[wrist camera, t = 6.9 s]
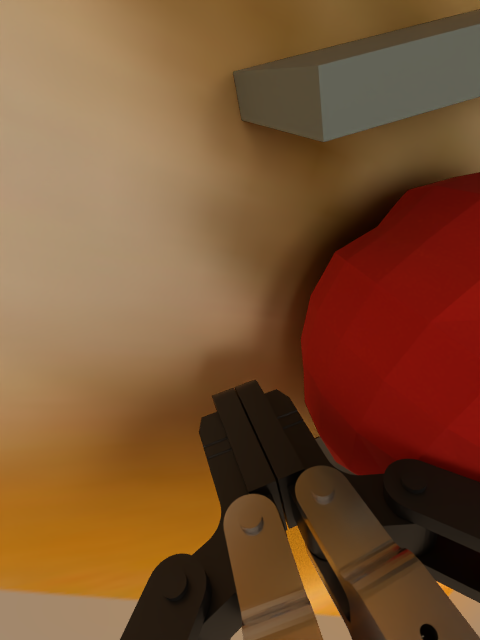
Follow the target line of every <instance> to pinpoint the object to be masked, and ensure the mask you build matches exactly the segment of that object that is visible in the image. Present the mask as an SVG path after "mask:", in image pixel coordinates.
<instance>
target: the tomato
mask: <svg viewBox="0 0 480 640" xmlns="http://www.w3.org/2000/svg"><path fill="white" fill-rule="evenodd" d="M301 347H302V359H303V371H304V396H305V404H306V406H307V408H308V410H309V413H310V415H311V417H312V420H313V422H314V424H315V426H316V429H317V431H318V433H319V435H320V437H321V438H322V440H323V442H324V443H325V445H326V447H327V448H328V450H329V451H330V453H331V455H332V456H333V458H334V460H335V461H336V462H337V463H338V464H340V465H342V466H343V467H345V468H346V469H348V470H349V471H351V472H353V473H354V474H356V475H370V474H383V473H385V470H386V468H387V467H388V466H389V465H390V464H391V463H393V462H395V461H397V460H400V459H416V460H420V461H423V462H425V463H428V464H431V465H434V466H436V467H439V468H442V469H445V470H448V471H450V472H453V473H456V474H459V475H461V476H464V477H467V478H470V479H472V480H475V481H478V482H480V172H479V173H474V174H469V175H463V176H458V177H453V178H450V179H446V180H442V181H439V182H435V183H431V184H428V185H424V186H420V187H417V188H413V189H410V190H408V191H407V192H406V193H405V194H404V195H403V196H402V197H401V198H400V199H399V200H398V201H397V203H396V204H395V205H394V206H393V208H392V209H391V210H390V211H389V213H388V214H387V215H386V216H385V218H384V219H383V220H382V221H381V222H380V224H379V225H378V226H377V227H376V228H374V229H372V230H371V231H369V232H367V233H366V234H364V235H362V236H361V237H359V238H357V239H356V240H354V241H352V242H351V243H349V244H347V245H346V246H344V247H342V248H341V249H339V250H337V251H336V252H335V253H334V255H333V256H332V258H331V260H330V262H329V264H328V265H327V267H326V269H325V271H324V273H323V274H322V276H321V278H320V280H319V282H318V283H317V285H316V287H315V289H314V290H313V292H312V294H311V296H310V301H309V305H308V310H307V314H306V318H305V323H304V327H303V332H302V336H301Z"/></svg>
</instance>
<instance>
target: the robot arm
mask: <svg viewBox="0 0 480 640" xmlns="http://www.w3.org/2000/svg"><path fill="white" fill-rule="evenodd" d="M212 398H213V401H214V404H215V407H216V410H217V412H215V413H213V414H210V415H207V416H205V417H202V419H201V424H200V430H199V434H200V437H201V441H202V444H203V447H204V451H205V454H206V457H207V460H208V464H209V467H210V471H211V474H212V477H213V481H214V484H215V488H216V491H217V494H218V498H219V501H220V505H221V519H220V523H219V526H218V528H217V530H216V532H215V533H214V535H213V536H212V537H211V538H210V539H209V540H208V541H207V542H206V543H205V544H204V545H203V546H202V547H201V548H200V549H198V550H197V551H196V552H195V553H194V554H193V555H192V556H191V555H189V554H175V555H172V556H170V557H168V558H166V559H165V560H163V561H162V562H161V563H160V564H159V565H158V566H157V567H156V568H155V570H154V571H153V572H152V574H151V576H150V578H149V580H148V582H147V584H146V586H145V588H144V590H143V593H142V595H141V597H140V599H139V601H138V603H137V605H136V607H135V609H134V612H133V614H132V616H131V618H130V620H129V622H128V624H127V626H126V628H125V631H124V633H123V635H122V637H121V639H120V640H230V639H231V637H232V636H233V635H234V634H235V633H236V632H237V631H238V630H239V629H240V628H241V627H242V634H243V640H323V638H322V635H321V632H320V629H319V626H318V623H317V620H316V617H315V614H314V612H313V609H312V606H311V604H310V601H309V599H308V597H307V595H306V592H305V589H304V586H303V583H302V581H301V578H300V575H299V572H298V569H297V566H296V563H295V560H294V557H293V554H292V551H291V548H290V545H289V542H288V538H287V534H286V530H287V526H286V522H287V525H288V527H289V529H290V528H292V527H294V526H298V528H299V530H300V532H301V535H302V537H303V539H304V541H305V547H306V551H307V553H308V556H309V557H310V559H311V561H312V563H313V565H314V567H315V568H316V570H317V572H318V574H319V576H320V578H321V580H322V581H323V583H324V585H325V587H326V589H327V591H328V593H329V594H330V596H331V598H332V600H333V602H334V604H335V605H336V607H337V609H338V611H339V613H340V615H341V617H342V618H343V620H344V622H345V624H346V626H347V628H348V630H349V633H350V635H351V637H352V640H480V638H479V636H478V635H477V634H476V632H475V631H474V630H473V629H472V628H471V626H470V625H469V623H468V622H467V621H466V619H465V618H464V617H463V616H462V614H461V613H460V612H459V610H458V609H457V608H456V607H455V605H454V604H453V603H452V601H451V600H450V599H449V597H448V596H447V595H446V594H445V592H444V591H443V590H442V588H441V587H440V586H439V585H438V583H437V582H436V581H438V582H440V583H442V584H444V585H446V586H448V587H449V588H451V589H453V590H455V591H457V592H460V593H461V594H463V595H465V596H467V597H469V598H471V599H473V600H475V601H477V602H479V603H480V482H478V481H475V480H472V479H470V478H467V477H464V476H461V475H459V474H456V473H453V472H450V471H448V470H445V469H442V468H439V467H436V466H434V465H431V464H428V463H425V462H423V461H420V460H416V459H400V460H397V461H395V462H393V463H391V464H390V465H389V466H388V467H387V468H386V470H385V473H383V474H370V475H352V474H348V473H345V472H343V471H341V470H339V469H337V468H336V467H334V466H333V465H332V464H331V463H330V462H329V460H328V459H327V458H326V456H325V454H324V453H323V451H322V449H321V448H320V446H319V445H318V443H317V441H316V440H315V438H314V437H313V435H312V433H311V432H310V430H309V429H308V427H307V425H306V424H305V422H304V421H303V419H302V417H301V416H300V414H299V412H297V409H296V408H295V406H294V404H293V403H292V401H291V400H290V398H289V397H288V396H286V395H285V394H283V393H282V392H280V391H279V390H277V389H276V390H273V391H271V392H268V393H265V394H264V393H263V391H262V389H261V387H260V386H259V384H258V382H257V381H256V380H253V381H250V382H248V383H245V384H242V385H240V386H237V387H235V390H234V388H232V389H229V390H226V391H224V392H221V393H218V394H216V395H213V396H212ZM285 520H286V522H285ZM435 580H436V581H435Z"/></svg>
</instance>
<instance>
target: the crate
mask: <svg viewBox="0 0 480 640" xmlns="http://www.w3.org/2000/svg"><path fill="white" fill-rule="evenodd" d="M233 74H234V80H235V86H236V91H237V97H238V102H239V108H240V114H241V119H242V120H243V121H247V122H251V123H254V124H258V125H262V126H266V127H269V128H273V129H277V130H281V131H284V132H288V133H292V134H296V135H299V136H303V137H307V138H311V139H314V140H318V141H322V142H325V141H329V140H332V139H336V138H339V137H343V136H346V135H349V134H353V133H356V132H360V131H363V130H367V129H370V128H374V127H377V126H380V125H384V124H387V123H391V122H394V121H398V120H401V119H405V118H408V117H411V116H415V115H418V114H422V113H425V112H429V111H432V110H436V109H439V108H442V107H446V106H449V105H453V104H456V103H460V102H463V101H467V100H470V99H473V98H477V97H480V9H479V10H475V11H471V12H467V13H463V14H459V15H455V16H451V17H447V18H443V19H439V20H435V21H431V22H428V23H424V24H420V25H416V26H412V27H408V28H404V29H400V30H396V31H392V32H388V33H384V34H380V35H376V36H372V37H368V38H364V39H360V40H356V41H352V42H348V43H345V44H341V45H337V46H333V47H329V48H325V49H321V50H317V51H313V52H309V53H305V54H301V55H297V56H293V57H289V58H285V59H281V60H277V61H273V62H269V63H265V64H262V65H258V66H254V67H250V68H246V69H242V70H238V71H234V72H233ZM315 440H316V441H317V443H318V445H319V446H320V448H321V449H322V451H323V453H324V454H325V456H326V458H327V459H328V460H329V462H330V463H331V464H332V465H333V466H334V467H336V468H337V469H339V470H341V471H343V472H345V473H348V474H352V475H356V474H354V473H353V472H351V471H349V470H348V469H346V468H345V467H343V466H342V465H340V464H338V463H337V462H336V461H335V460H334V458H333V456H332V455H331V453H330V451H329V450H328V448H327V447H326V445H325V443H324V442H323V440H322V438H321V437H319V438H316V439H315Z"/></svg>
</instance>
